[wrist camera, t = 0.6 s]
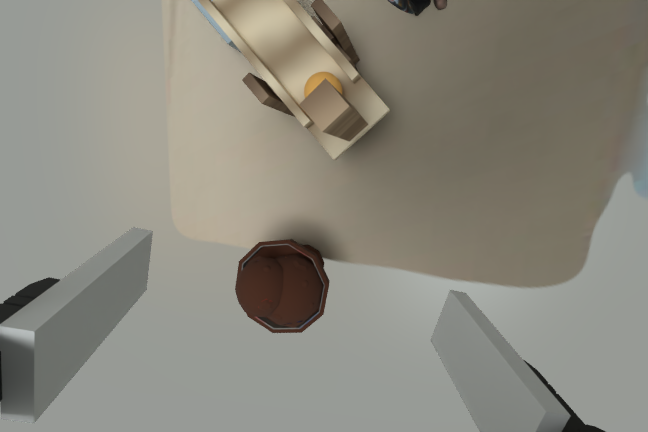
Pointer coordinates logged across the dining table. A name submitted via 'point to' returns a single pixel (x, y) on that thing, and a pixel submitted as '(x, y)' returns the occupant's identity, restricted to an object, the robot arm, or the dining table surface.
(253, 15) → the lever
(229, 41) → the bin
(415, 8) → the stuffed animal
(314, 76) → the ball
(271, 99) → the stand
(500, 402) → the robot arm
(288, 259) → the ice cream bowl
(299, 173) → the dining table surface
